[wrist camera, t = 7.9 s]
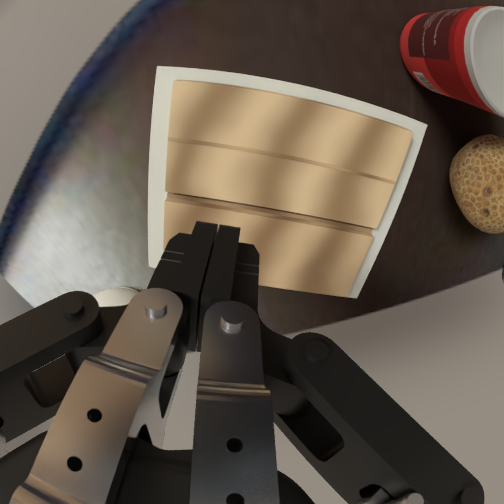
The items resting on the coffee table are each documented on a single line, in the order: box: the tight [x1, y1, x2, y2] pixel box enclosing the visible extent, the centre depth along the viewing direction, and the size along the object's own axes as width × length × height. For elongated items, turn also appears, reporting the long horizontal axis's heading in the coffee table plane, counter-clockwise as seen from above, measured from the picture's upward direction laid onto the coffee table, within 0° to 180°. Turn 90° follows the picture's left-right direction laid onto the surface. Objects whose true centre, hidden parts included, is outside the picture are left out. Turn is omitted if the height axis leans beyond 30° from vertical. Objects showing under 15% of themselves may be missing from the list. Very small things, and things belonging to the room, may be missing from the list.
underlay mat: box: [148, 66, 427, 298], centre depth 29 cm, size 24×21×1 cm
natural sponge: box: [449, 134, 504, 234], centre depth 21 cm, size 9×9×10 cm
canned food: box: [400, 6, 504, 118], centre depth 15 cm, size 8×8×11 cm
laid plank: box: [163, 192, 373, 297], centre depth 31 cm, size 20×8×1 cm, turn 80°
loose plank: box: [165, 79, 413, 229], centre depth 25 cm, size 20×10×1 cm, turn 80°
